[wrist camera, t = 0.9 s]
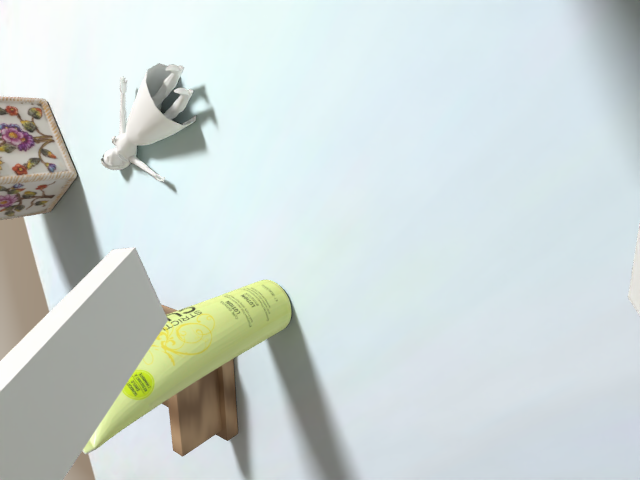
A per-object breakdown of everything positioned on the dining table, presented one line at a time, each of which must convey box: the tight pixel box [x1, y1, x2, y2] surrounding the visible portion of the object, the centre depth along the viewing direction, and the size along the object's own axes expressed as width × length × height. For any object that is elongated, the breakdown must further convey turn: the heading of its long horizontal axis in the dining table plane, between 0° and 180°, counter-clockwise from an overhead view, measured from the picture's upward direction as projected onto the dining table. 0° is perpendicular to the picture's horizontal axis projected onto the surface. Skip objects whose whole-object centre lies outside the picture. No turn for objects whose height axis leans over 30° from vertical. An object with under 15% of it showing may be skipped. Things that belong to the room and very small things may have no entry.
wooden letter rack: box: [161, 305, 238, 456], centre depth 53 cm, size 12×24×6 cm, turn 90°
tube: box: [82, 280, 291, 454], centre depth 35 cm, size 6×5×20 cm
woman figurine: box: [101, 63, 196, 182], centre depth 47 cm, size 12×4×18 cm
